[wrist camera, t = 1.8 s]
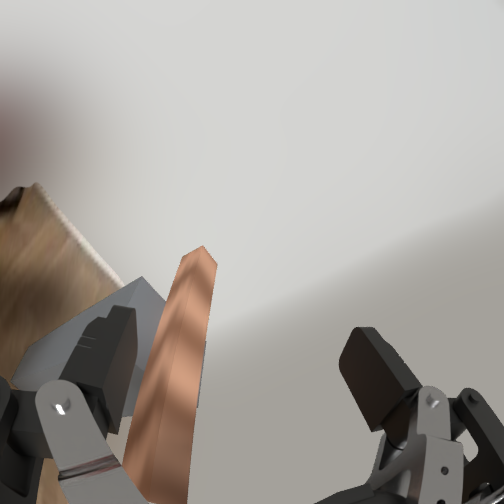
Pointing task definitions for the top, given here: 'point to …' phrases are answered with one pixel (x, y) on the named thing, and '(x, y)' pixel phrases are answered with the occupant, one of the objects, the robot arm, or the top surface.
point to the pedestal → (67, 335)
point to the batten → (172, 387)
